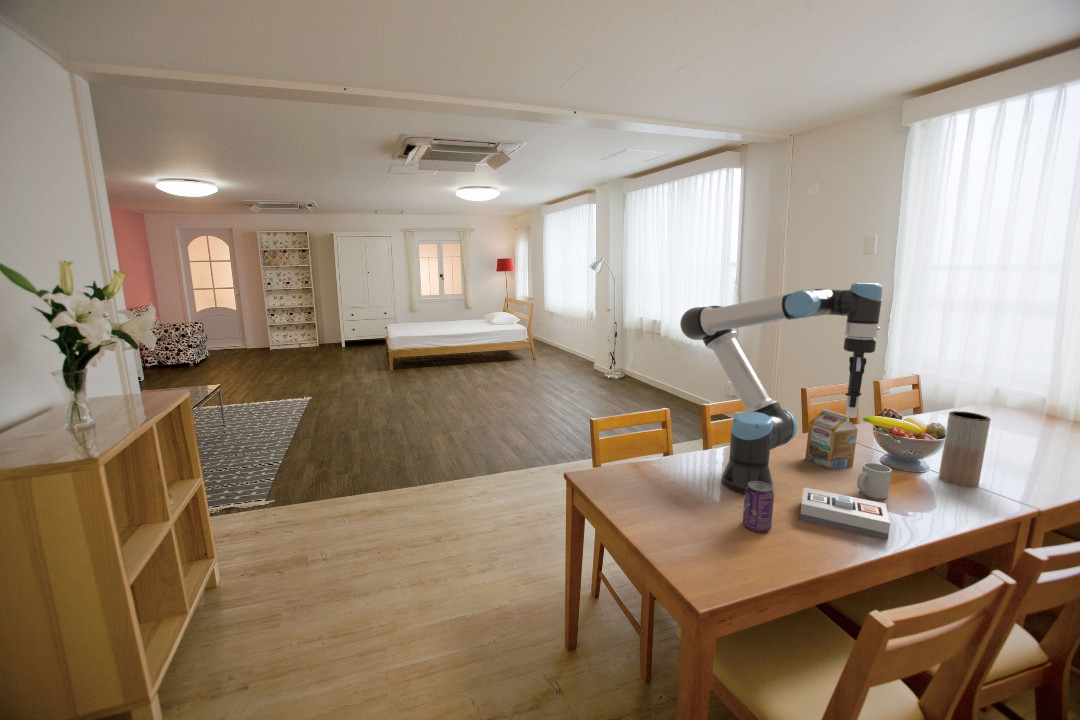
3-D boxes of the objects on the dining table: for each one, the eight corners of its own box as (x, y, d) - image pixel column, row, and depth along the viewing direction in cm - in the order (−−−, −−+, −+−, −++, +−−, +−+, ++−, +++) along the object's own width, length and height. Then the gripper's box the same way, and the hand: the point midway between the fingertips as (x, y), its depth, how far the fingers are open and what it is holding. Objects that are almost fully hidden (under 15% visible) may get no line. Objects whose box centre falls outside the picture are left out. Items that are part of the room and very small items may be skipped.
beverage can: (746, 517, 133) (750, 477, 131) (773, 525, 129) (777, 484, 127) (738, 527, 128) (742, 486, 126) (766, 536, 123) (770, 494, 121)
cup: (893, 498, 145) (897, 471, 143) (866, 501, 143) (870, 473, 141) (872, 487, 152) (876, 461, 150) (846, 490, 150) (850, 464, 148)
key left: (809, 509, 134) (810, 498, 133) (809, 503, 137) (810, 493, 137) (825, 512, 132) (826, 502, 131) (825, 506, 135) (826, 496, 134)
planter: (949, 485, 153) (960, 418, 149) (932, 473, 163) (942, 409, 158) (986, 489, 151) (998, 421, 147) (966, 476, 160) (977, 411, 156)
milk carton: (805, 458, 175) (810, 409, 172) (827, 455, 179) (832, 407, 175) (830, 469, 166) (836, 418, 162) (852, 466, 169) (859, 415, 165)
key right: (860, 520, 128) (861, 509, 127) (859, 514, 131) (860, 503, 130) (877, 524, 126) (879, 513, 125) (876, 517, 129) (878, 507, 128)
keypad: (799, 520, 132) (801, 503, 131) (801, 502, 142) (803, 487, 141) (887, 540, 122) (890, 523, 121) (883, 520, 132) (885, 503, 131)
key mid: (834, 509, 130) (835, 499, 130) (834, 503, 134) (835, 493, 133) (851, 513, 128) (853, 502, 128) (851, 507, 132) (852, 497, 131)
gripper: (878, 341, 127) (867, 425, 131) (874, 335, 138) (864, 413, 142) (845, 339, 131) (836, 420, 135) (844, 334, 142) (835, 409, 146)
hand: (850, 416), depth 139 cm, fingers closed
